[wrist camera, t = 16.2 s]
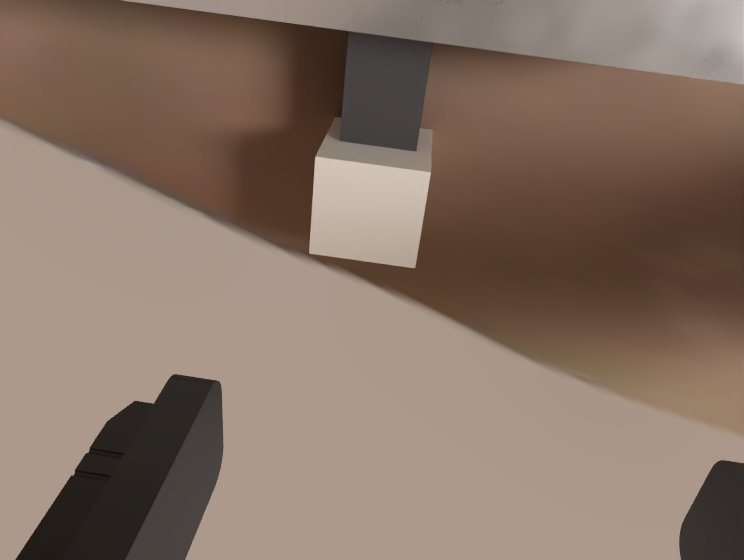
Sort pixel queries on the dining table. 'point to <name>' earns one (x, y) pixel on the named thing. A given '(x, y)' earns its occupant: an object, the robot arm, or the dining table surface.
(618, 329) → the dining table surface
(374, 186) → the plug
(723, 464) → the robot arm
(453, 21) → the housing
